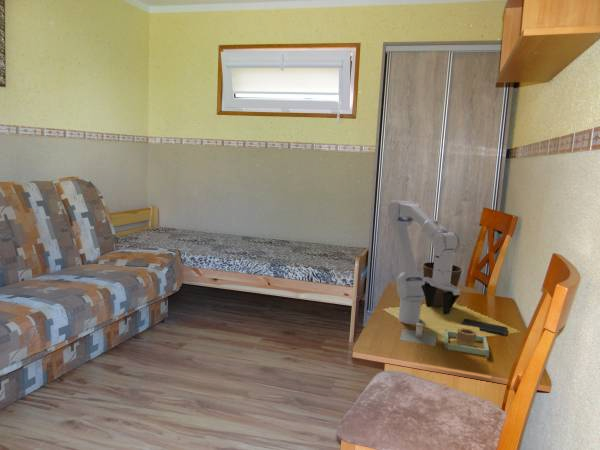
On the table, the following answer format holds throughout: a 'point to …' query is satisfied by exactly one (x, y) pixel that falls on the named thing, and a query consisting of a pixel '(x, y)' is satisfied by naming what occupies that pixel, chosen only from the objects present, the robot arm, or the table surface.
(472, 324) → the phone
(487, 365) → the table surface
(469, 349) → the sage tray
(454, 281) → the plant pot
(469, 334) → the wood ring
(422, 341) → the stake board
